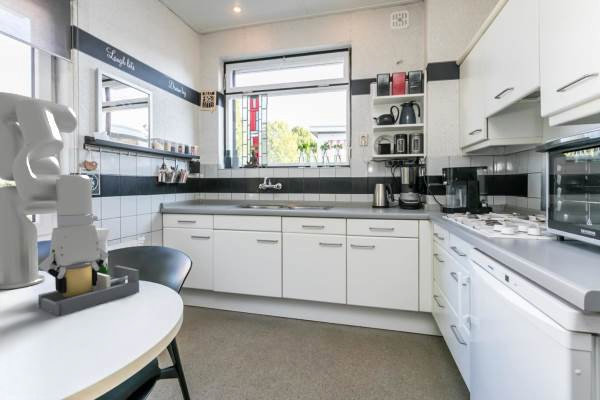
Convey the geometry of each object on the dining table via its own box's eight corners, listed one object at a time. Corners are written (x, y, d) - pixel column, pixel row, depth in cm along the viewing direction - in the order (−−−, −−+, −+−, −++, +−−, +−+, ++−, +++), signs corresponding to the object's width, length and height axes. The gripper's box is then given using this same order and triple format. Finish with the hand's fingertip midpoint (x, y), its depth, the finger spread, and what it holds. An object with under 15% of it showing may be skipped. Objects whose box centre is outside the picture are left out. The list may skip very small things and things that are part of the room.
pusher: (92, 293, 88) (92, 272, 88) (121, 285, 95) (120, 266, 95) (106, 298, 84) (106, 276, 84) (135, 289, 91) (135, 269, 91)
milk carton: (66, 290, 92) (64, 224, 92) (93, 281, 101) (92, 221, 100) (88, 292, 90) (87, 224, 89) (115, 283, 99) (113, 221, 98)
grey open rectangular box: (38, 307, 79) (37, 282, 79) (118, 285, 96) (117, 265, 96) (58, 315, 73) (57, 288, 73) (139, 291, 90) (138, 269, 90)
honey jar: (57, 294, 80) (56, 264, 80) (85, 287, 86) (84, 259, 86) (69, 298, 77) (68, 267, 77) (97, 291, 83) (97, 261, 82)
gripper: (102, 218, 90) (104, 278, 91) (27, 224, 75) (30, 296, 76) (116, 219, 86) (118, 282, 87) (40, 225, 72) (43, 301, 72)
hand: (77, 288), depth 81 cm, fingers closed on honey jar, 6 cm apart
